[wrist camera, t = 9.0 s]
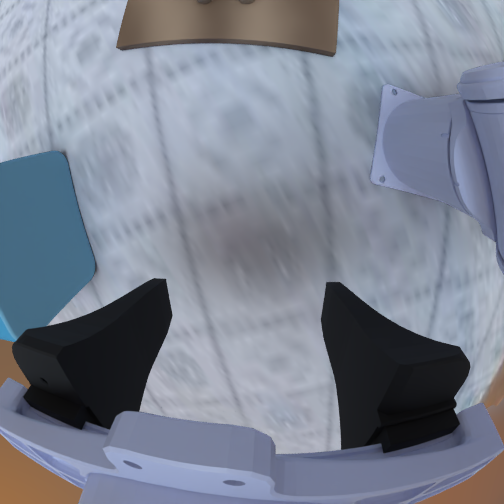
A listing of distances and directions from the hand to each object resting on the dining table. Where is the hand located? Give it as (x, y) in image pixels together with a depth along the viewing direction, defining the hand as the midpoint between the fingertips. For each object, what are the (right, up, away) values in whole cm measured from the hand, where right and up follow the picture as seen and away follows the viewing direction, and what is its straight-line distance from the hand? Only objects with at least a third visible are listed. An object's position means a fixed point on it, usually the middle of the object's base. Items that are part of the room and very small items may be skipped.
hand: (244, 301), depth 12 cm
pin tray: (-1, +25, -1) cm, 25 cm away
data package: (-17, +6, +9) cm, 20 cm away
